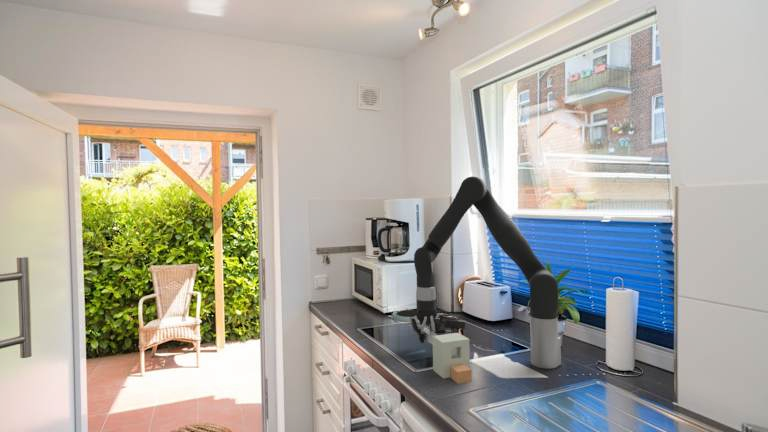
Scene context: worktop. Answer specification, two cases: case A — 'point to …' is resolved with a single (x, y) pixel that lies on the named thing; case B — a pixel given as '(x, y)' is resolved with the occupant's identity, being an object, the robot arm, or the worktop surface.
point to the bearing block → (449, 353)
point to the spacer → (461, 374)
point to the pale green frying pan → (404, 315)
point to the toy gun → (450, 323)
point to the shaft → (428, 338)
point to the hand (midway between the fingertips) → (427, 341)
